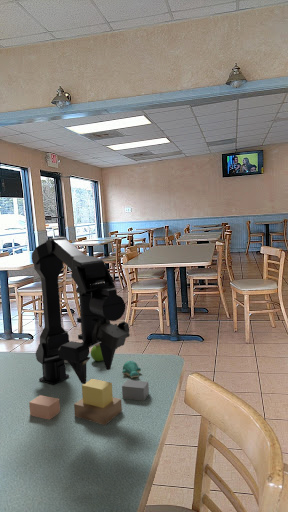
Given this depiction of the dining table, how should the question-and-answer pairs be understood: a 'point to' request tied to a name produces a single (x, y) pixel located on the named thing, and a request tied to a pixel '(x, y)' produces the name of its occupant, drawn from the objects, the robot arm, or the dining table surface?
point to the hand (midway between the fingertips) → (96, 376)
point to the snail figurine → (96, 353)
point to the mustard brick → (97, 393)
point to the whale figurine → (131, 369)
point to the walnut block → (98, 411)
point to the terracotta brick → (44, 407)
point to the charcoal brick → (135, 390)
